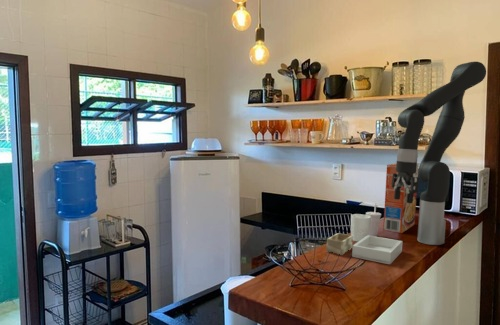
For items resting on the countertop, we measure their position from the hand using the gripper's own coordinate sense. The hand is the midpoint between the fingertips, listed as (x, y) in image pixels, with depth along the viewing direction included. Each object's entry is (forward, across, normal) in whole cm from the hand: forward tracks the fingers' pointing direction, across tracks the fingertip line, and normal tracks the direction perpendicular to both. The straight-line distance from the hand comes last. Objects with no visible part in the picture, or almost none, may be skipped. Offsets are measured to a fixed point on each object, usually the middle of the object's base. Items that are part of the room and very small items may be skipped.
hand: (402, 201), depth 156 cm
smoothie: (+18, +12, +5) cm, 22 cm away
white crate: (+18, -12, +16) cm, 27 cm away
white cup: (+18, +6, +14) cm, 24 cm away
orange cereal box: (+17, +25, -16) cm, 34 cm away
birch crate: (+18, -6, +28) cm, 34 cm away
